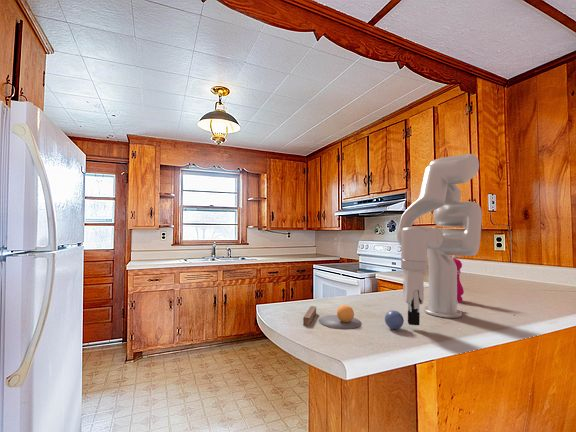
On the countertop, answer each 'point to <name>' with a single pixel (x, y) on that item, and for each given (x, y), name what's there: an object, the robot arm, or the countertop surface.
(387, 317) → the blue ball
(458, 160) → the robot arm
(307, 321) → the rail
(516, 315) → the countertop surface
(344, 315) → the object ball
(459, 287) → the pepper mill
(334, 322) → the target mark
